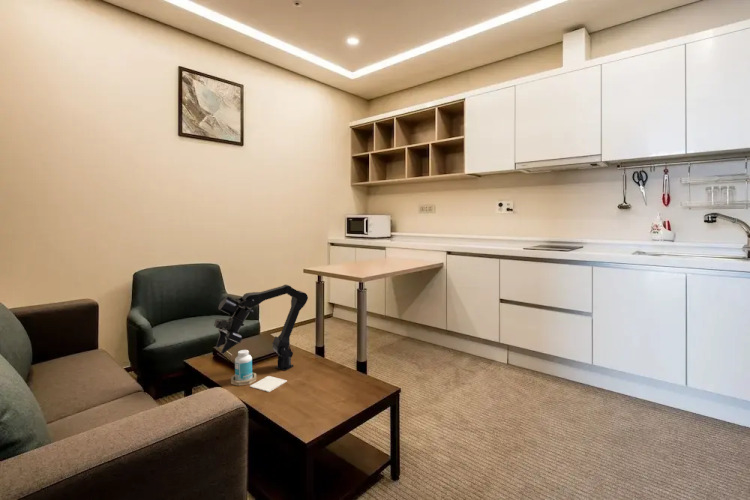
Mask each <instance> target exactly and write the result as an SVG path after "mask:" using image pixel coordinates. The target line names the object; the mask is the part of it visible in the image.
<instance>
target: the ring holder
mask: <svg viewBox="0 0 750 500" xmlns="http://www.w3.org/2000/svg"><path fill="white" fill-rule="evenodd" d="M257 378H258V377H257V373H256V372H253V371H252V379H250V380H247V381H236V380H235V374H233V375H231V377H230V384H231V385H234V386H239V387H240V386H246V385H252V384H254V383H256V382H257Z"/></svg>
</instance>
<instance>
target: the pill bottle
mask: <svg viewBox="0 0 750 500" xmlns="http://www.w3.org/2000/svg"><path fill="white" fill-rule="evenodd" d="M252 372H253V357H252V356H251V354H250V351H249V350H248V349H241V350H238V352H237V356H236V357H235V359H234V375H235V379H234V380H236V381H247V380H250V379H252V378H253V377H252Z"/></svg>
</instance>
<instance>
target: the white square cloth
mask: <svg viewBox="0 0 750 500" xmlns="http://www.w3.org/2000/svg"><path fill="white" fill-rule="evenodd" d="M287 382H288V380H286V379H283V378H279V377H276V376H275V377H274V376H271V375H267V376H265V377H264V378H262V379H260V380H258V381H255V382H253V383H251V384H250V385H249V387H250V388H253V389H255V390H260V391H263V392H267V393H270V392H272V391H273V390H275V389H277V388H279V387H281V386H282V385H284V384H285V383H287Z"/></svg>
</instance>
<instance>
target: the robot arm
mask: <svg viewBox="0 0 750 500" xmlns="http://www.w3.org/2000/svg"><path fill="white" fill-rule="evenodd" d="M286 294H287V295H288V296H290V297H291V299H290V305H291V306H290V309H289V310H288V311H289V312H288V314H287V317H286V319H285V322H284V325H283V328H282V330H281V332H280V334H279V335H278V336H274V339H273V342H272V343H271V344H272V349H273V351H274V352H276V354H277V365H276V366H275V369H277V370H283V371H287V370H290V369H291V368H293V367H294V364H292V357H293V356H294V352H293V351H292V350H290V343H291V342H290V339H291V338H290V337H291V335H292V332H293V329H294V327H295V325H296V321H297V319H298V316H299V314H300V311H301V310H302V309H303V308H304V307H305V306H306V303H307V301H308V300H309V296H308V294H307V293H306V292H304V291H301V290H298V289H295V288H293V287H292V286H291V285H289V284H283V285H281V286H280V285H279V286H277V287H273V288H270V289H267V290H263V291H256V292H255V291H251V292H247V293H244V294H243V295H242V296H241V297H239V298H237V299H234V298H232V297H230V296H228V295H226V296H225V298H223V299H222V300H221V301H220V303H219V304H218V308H217V309H218V310H219V311H222V312H223V313H226V314H228V315H232V317H231V316H230V317H228V319H224V318H215V319H214V325H213V326H214V327H215V328H217V331H218V333H219V335H218V339H217V342H216V346H215V347H216V348H219V347H221V346H222V345H223V344H224V345H223V347H222V349H221V352H220V353H222V354H224V353H226V352H228V351H229V350H230V349H232V348H233V347H235V346H236V345H238V344H241V342H242V340H243V336H242V335H241V334H240V329H241V327H245V326H244V325H245V323H244V322H245V321H246V319H247V317H248V316H249V314H251V315H255V313H254V307H256V306H258V305H260V304H261V303H262V302H265V301H267V300H271V299H274V298H277V297H281V296H283V295H286Z"/></svg>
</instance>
